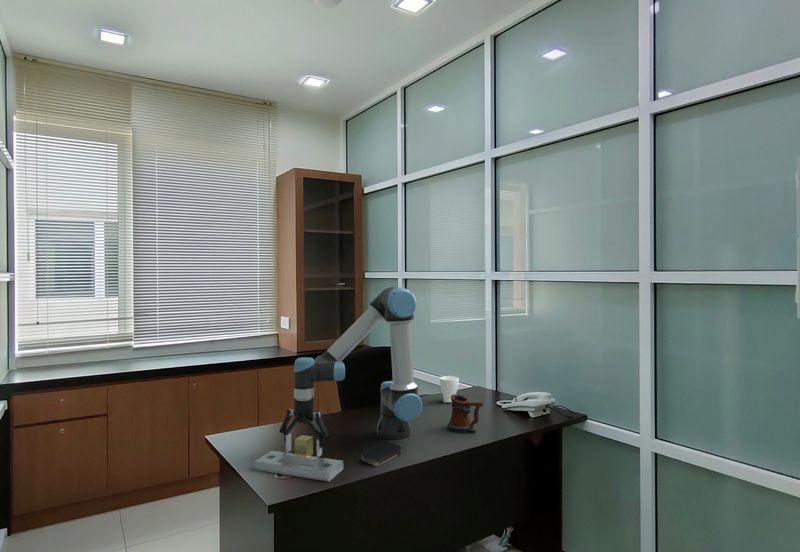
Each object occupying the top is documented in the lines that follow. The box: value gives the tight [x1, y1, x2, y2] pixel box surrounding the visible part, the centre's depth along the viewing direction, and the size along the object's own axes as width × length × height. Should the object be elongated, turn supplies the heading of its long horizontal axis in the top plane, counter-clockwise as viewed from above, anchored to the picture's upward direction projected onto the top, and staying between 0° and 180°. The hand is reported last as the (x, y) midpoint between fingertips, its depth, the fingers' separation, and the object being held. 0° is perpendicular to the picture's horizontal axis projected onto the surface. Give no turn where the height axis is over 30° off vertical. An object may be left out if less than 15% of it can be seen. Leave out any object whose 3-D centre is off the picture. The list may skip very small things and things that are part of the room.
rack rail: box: [253, 450, 344, 482], centre depth 172 cm, size 30×11×3 cm, turn 71°
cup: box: [439, 375, 460, 403], centre depth 263 cm, size 10×10×14 cm
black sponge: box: [361, 441, 402, 467], centre depth 183 cm, size 16×8×4 cm, turn 144°
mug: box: [447, 393, 484, 434], centre depth 216 cm, size 18×12×15 cm, turn 45°
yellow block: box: [294, 434, 314, 456], centre depth 185 cm, size 5×5×7 cm
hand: (303, 453), depth 185 cm, fingers open, 13 cm apart
